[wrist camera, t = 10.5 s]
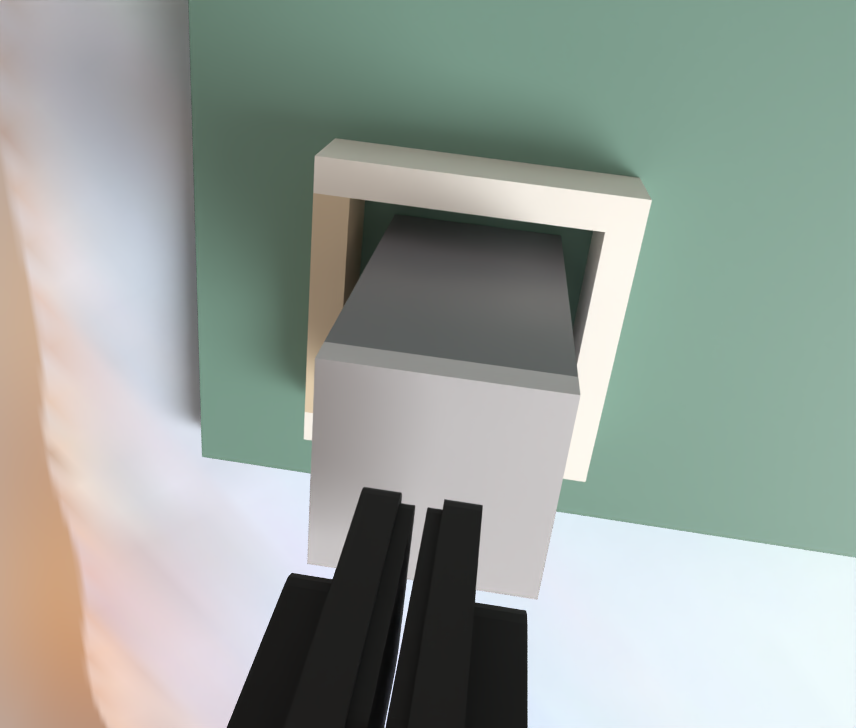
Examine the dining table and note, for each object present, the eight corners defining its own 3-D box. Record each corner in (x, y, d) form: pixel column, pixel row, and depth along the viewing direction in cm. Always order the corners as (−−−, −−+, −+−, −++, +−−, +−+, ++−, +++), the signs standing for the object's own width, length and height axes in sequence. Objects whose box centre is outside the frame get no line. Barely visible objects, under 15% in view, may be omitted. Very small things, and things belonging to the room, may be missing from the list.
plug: (394, 214, 19) (315, 358, 12) (560, 235, 19) (580, 395, 12) (383, 361, 21) (307, 563, 14) (534, 383, 21) (537, 599, 13)
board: (204, -201, 17) (137, -236, 14) (1181, -96, 16) (1325, -112, 13) (216, 435, 24) (174, 497, 21) (887, 537, 23) (938, 617, 20)
